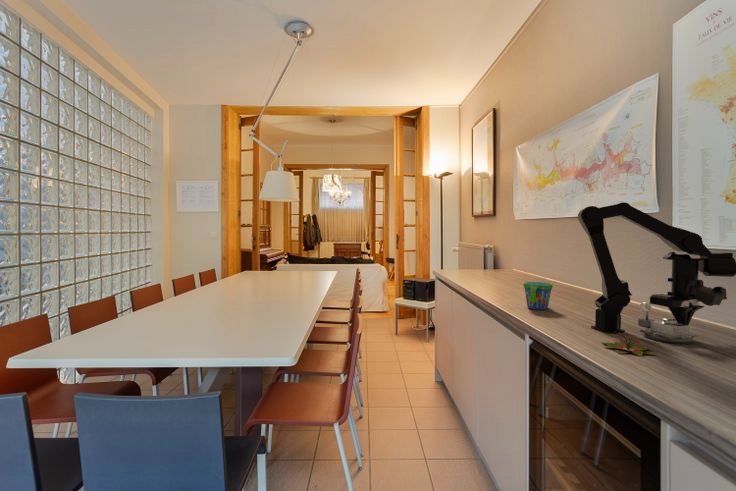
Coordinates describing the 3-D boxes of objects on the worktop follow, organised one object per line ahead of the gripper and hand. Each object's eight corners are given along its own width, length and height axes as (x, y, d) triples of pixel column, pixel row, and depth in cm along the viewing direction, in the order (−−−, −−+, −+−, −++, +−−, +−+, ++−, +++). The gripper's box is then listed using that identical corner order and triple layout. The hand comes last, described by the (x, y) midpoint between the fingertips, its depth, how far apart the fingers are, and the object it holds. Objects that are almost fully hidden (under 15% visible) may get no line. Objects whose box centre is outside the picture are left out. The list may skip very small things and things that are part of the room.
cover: (672, 336, 96) (673, 322, 96) (650, 330, 102) (650, 317, 101) (688, 334, 97) (689, 321, 97) (665, 328, 103) (666, 316, 103)
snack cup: (531, 303, 149) (531, 280, 148) (558, 307, 141) (558, 282, 141) (516, 309, 138) (516, 283, 138) (544, 313, 130) (544, 286, 130)
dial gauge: (647, 327, 111) (648, 303, 111) (638, 324, 114) (638, 301, 114) (655, 326, 112) (655, 302, 112) (645, 324, 115) (645, 301, 115)
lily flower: (669, 361, 83) (670, 342, 83) (614, 357, 85) (615, 339, 85) (639, 345, 95) (640, 328, 95) (592, 342, 97) (592, 326, 97)
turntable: (673, 345, 93) (673, 339, 93) (633, 334, 104) (633, 328, 104) (703, 342, 96) (704, 336, 96) (661, 331, 106) (661, 325, 106)
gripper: (692, 280, 90) (690, 339, 91) (743, 277, 95) (742, 334, 95) (648, 275, 101) (647, 328, 102) (696, 273, 106) (695, 323, 106)
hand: (683, 328), depth 101 cm, fingers closed
